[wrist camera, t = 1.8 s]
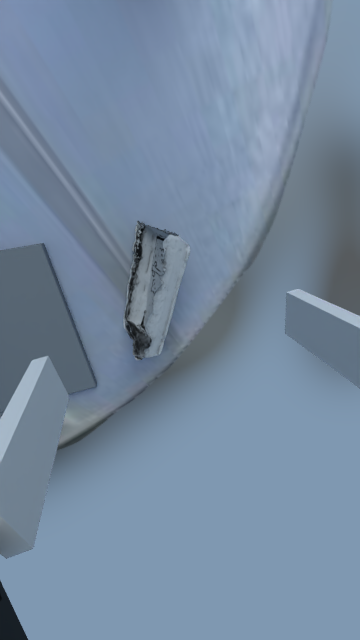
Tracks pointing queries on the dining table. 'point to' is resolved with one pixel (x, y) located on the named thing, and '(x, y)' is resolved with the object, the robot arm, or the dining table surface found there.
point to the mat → (36, 323)
